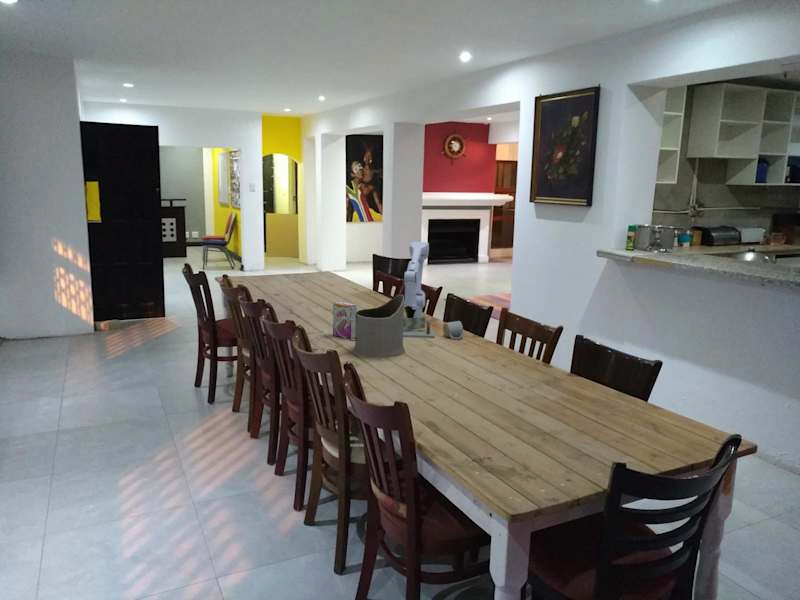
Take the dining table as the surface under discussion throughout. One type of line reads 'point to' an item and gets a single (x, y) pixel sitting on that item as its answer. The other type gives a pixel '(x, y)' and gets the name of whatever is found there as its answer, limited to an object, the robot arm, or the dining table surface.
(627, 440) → the dining table surface
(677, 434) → the dining table surface
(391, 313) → the pitcher
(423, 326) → the gate
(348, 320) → the candy bar box
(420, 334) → the gate base
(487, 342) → the dining table surface
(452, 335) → the ceramic mug
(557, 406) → the dining table surface
